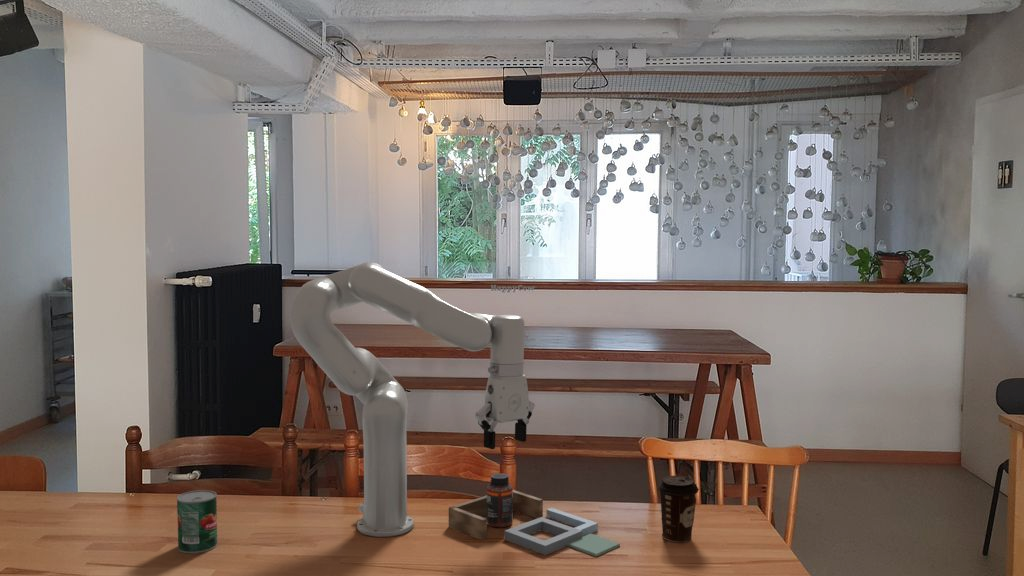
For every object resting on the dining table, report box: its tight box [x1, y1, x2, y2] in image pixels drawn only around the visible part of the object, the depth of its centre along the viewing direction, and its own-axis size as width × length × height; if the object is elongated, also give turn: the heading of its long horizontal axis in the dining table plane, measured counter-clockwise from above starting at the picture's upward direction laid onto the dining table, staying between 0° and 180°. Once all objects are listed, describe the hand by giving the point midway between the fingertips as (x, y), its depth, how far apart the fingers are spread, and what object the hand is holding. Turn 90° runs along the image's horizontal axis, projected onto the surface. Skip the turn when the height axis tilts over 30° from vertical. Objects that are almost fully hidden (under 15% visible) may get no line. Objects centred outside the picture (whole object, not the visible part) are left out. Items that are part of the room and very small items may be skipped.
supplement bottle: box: [486, 472, 514, 528], centre depth 190 cm, size 6×6×11 cm
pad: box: [566, 533, 621, 558], centre depth 178 cm, size 8×8×1 cm
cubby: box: [448, 489, 544, 541], centre depth 191 cm, size 11×19×4 cm, turn 136°
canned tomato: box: [176, 489, 218, 554], centre depth 175 cm, size 8×8×11 cm
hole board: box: [503, 516, 582, 556], centre depth 181 cm, size 12×12×2 cm
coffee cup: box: [658, 475, 700, 543], centre depth 182 cm, size 9×8×13 cm
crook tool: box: [545, 507, 599, 537], centre depth 189 cm, size 14×7×2 cm, turn 45°
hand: (505, 444), depth 188 cm, fingers open, 9 cm apart
